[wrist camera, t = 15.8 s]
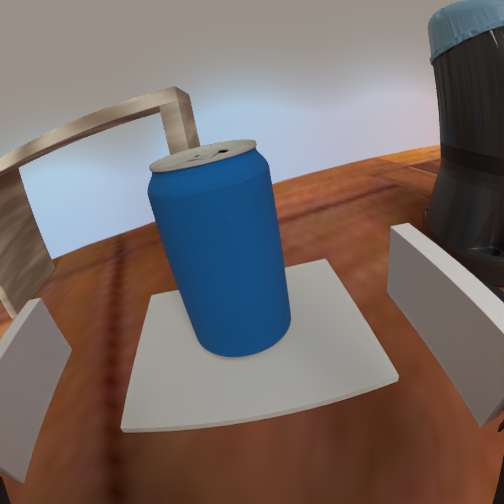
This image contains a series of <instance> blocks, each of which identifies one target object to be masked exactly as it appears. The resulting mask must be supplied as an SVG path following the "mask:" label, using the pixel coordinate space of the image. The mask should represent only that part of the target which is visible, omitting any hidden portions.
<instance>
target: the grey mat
mask: <svg viewBox="0 0 504 504" xmlns="http://www.w3.org/2000/svg"><path fill="white" fill-rule="evenodd" d="M285 274H286V281H287V289H288V296H289V304H290V311H291V323H290V327H289V329H288V331H287V333H286V334H285V336H284V337H283V338H282V339H281V340H280V341H279V342H278V343H276V344H275V345H274V346H272V347H271V348H269V349H267V350H265V351H263V352H261V353H258V354H255V355H251V356H247V357H239V358H230V357H223V356H218V355H215V354H213V353H211V352H209V351H207V350H206V349H205V348H204V347H202V346H201V344H200V343H199V341H198V339H197V337H196V334H195V332H194V329H193V327H192V324H191V322H190V319H189V316H188V314H187V311H186V308H185V306H184V303H183V300H182V298H181V295H180V292H179V290H175V291H170V292H165V293H160V294H154V295H152V296H151V299H150V303H149V306H148V310H147V314H146V317H145V321H144V325H143V329H142V332H141V336H140V340H139V344H138V348H137V352H136V356H135V361H134V365H133V369H132V373H131V378H130V382H129V387H128V392H127V396H126V401H125V406H124V411H123V417H122V422H121V427H120V429H121V430H122V431H123V432H124V433H131V432H162V431H178V430H190V429H200V428H209V427H217V426H225V425H232V424H239V423H245V422H251V421H256V420H262V419H267V418H272V417H277V416H282V415H287V414H291V413H295V412H300V411H304V410H308V409H312V408H316V407H319V406H323V405H327V404H330V403H334V402H337V401H341V400H344V399H347V398H351V397H354V396H357V395H360V394H363V393H366V392H369V391H372V390H375V389H378V388H381V387H383V386H386V385H389V384H392V383H394V382H397V381H398V378H399V375H398V373H397V372H396V370H395V368H394V366H393V365H392V363H391V361H390V360H389V358H388V356H387V355H386V353H385V351H384V350H383V348H382V346H381V345H380V343H379V341H378V340H377V338H376V336H375V335H374V333H373V331H372V330H371V328H370V327H369V325H368V323H367V322H366V320H365V319H364V317H363V315H362V314H361V312H360V311H359V309H358V307H357V306H356V304H355V303H354V301H353V300H352V298H351V296H350V295H349V293H348V292H347V290H346V289H345V287H344V286H343V284H342V283H341V281H340V280H339V278H338V277H337V275H336V273H335V272H334V270H333V269H332V267H331V266H330V264H329V263H328V261H327V260H326V259H322V260H317V261H313V262H308V263H304V264H299V265H295V266H290V267H286V268H285Z"/></svg>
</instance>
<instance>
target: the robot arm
mask: <svg viewBox="0 0 504 504" xmlns="http://www.w3.org/2000/svg"><path fill="white" fill-rule="evenodd" d="M428 35H429V42H430V49H431V58H430V62H431V65H433V68H434V74H435V81H436V89H437V98H438V109H439V123H440V146H441V162H440V168H439V171H438V175H437V178H436V181H435V185H434V188H433V192H432V195H431V199H430V202H429V205H428V206H427V207H426V209H425V211H424V214H423V219H422V233H421V232H420V231H418V230H417V229H416V228H414V227H413V226H412V225H410V224H409V223H405V224H400V225H395V226H391V227H390V250H389V268H388V282H387V293H388V294H389V296H390V297H391V298H392V299H393V301H394V302H395V303H396V305H397V306H398V307H399V309H400V310H401V311H402V312H403V314H404V315H405V316H406V318H407V319H408V320H409V322H410V323H411V325H412V326H413V327H414V329H415V330H416V331H417V333H418V334H419V335H420V337H421V338H422V340H423V341H424V342H425V344H426V345H427V347H428V348H429V349H430V351H431V352H432V354H433V355H434V357H435V358H436V360H437V361H438V362H439V364H440V365H441V367H442V368H443V370H444V371H445V373H446V374H447V376H448V377H449V379H450V380H451V382H452V383H453V385H454V386H455V388H456V389H457V391H458V393H459V394H460V396H461V397H462V399H463V400H464V402H465V404H466V405H467V407H468V409H469V410H470V412H471V413H472V415H473V417H474V418H475V420H476V422H477V423H478V425H479V427H480V428H481V427H483V426H484V425H486V424H487V423H489V422H490V421H492V420H493V419H495V418H496V417H498V416H499V415H500V414H501V413H502V411H503V410H504V292H503V291H502V290H501V289H499V288H497V287H495V286H504V0H465V1H460V2H456V3H453V4H450V5H448V6H446V7H444V8H442V9H440V10H438V11H437V12H436V13H434V14H433V16H432V17H431V18H430V20H429V23H428ZM493 285H495V286H493ZM71 351H72V348H71V347H70V345H69V344H68V342H67V341H66V339H65V338H64V336H63V334H62V333H61V331H60V330H59V328H58V326H57V325H56V323H55V321H54V320H53V318H52V316H51V314H50V313H49V311H48V309H47V307H46V306H45V304H44V302H43V300H42V298H37V299H32V300H29V301H28V302H27V303H26V305H25V306H24V307H23V309H22V310H21V311H20V313H19V314H18V315H17V317H16V318H15V320H14V321H13V323H12V324H11V325H10V327H9V328H8V330H7V331H6V333H5V334H4V336H3V337H2V339H1V340H0V471H1V472H2V473H3V474H5V475H6V476H8V477H9V478H10V479H13V480H16V481H18V482H21V483H24V482H25V478H26V474H27V470H28V467H29V463H30V460H31V457H32V453H33V450H34V447H35V444H36V441H37V438H38V435H39V432H40V429H41V426H42V423H43V420H44V417H45V415H46V412H47V409H48V406H49V404H50V401H51V399H52V396H53V394H54V391H55V389H56V386H57V384H58V381H59V379H60V377H61V374H62V372H63V369H64V367H65V365H66V363H67V360H68V358H69V356H70V354H71ZM503 428H504V420H503V421H502V423H501V424H500V425H499V428H498V431H497V432H501V431H502V429H503ZM0 504H10V501H9V498H8V495H7V491H6V488H5V484H4V481H3V479H2V477H0ZM493 504H504V457H503V462H502V467H501V472H500V476H499V481H498V485H497V489H496V493H495V497H494V500H493Z"/></svg>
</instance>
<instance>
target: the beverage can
mask: <svg viewBox="0 0 504 504" xmlns="http://www.w3.org/2000/svg"><path fill="white" fill-rule="evenodd" d="M255 147H256V141H254V140H234V141H227V142H220V143H215V144H210V145H205V146H201V147H196V148H193V149H189V150H185V151H182V152H179V153H176V154H173V155H170V156H167V157H165V158H162V159H160V160H158V161H156V162H154V163H152V164H151V165H150V166H149V168H150V171H152V177H151V180H150V183H149V186H148V197H149V200H150V204H151V207H152V210H153V214H154V217H155V220H156V223H157V227H158V230H159V233H160V236H161V239H162V242H163V245H164V249H165V252H166V255H167V258H168V261H169V264H170V266H171V269H172V272H173V275H174V278H175V281H176V284H177V286H178V289H179V292H180V295H181V298H182V300H183V303H184V306H185V308H186V311H187V314H188V316H189V319H190V322H191V324H192V327H193V329H194V332H195V334H196V337H197V339H198V341H199V343H200V344H201V346H202V347H204V348H205V349H206V350H207V351H209V352H211V353H213V354H215V355H218V356H223V357H230V358H239V357H247V356H251V355H255V354H258V353H261V352H263V351H265V350H267V349H269V348H271V347H272V346H274V345H275V344H276V343H278V342H279V341H280V340H281V339H282V338H283V337H284V336H285V334H286V333H287V331H288V329H289V327H290V323H291V311H290V304H289V296H288V289H287V281H286V274H285V267H284V260H283V253H282V246H281V240H280V233H279V226H278V220H277V213H276V207H275V201H274V194H273V188H272V182H271V176H270V171H269V165H268V163H267V161H266V159H265V158H264V157H263V156H262V155H261V154H260V153H259V152H258V151H257V150H256V148H255Z"/></svg>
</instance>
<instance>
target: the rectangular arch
mask: <svg viewBox="0 0 504 504" xmlns="http://www.w3.org/2000/svg"><path fill="white" fill-rule="evenodd" d="M159 112H161V117H162V121H163V126H164V130H165V134H166V138H167V143H168V147H169V151H170V155H173V154H176V153H179V152H182V151H185V150H189V149H193V148H196V147H200V143H199V138H198V134H197V129H196V124H195V120H194V116H193V111H192V106H191V101H190V96H189V94H187V93H186V92H184V91H182V90H180V89H179V88H177V87H175V86H174V87H170V88H166V89H163V90H159V91H156V92H152V93H149V94H146V95H142V96H139V97H136V98H133V99H130V100H127V101H124V102H121V103H118V104H115V105H113V106H110V107H107V108H105V109H102V110H99V111H97V112H94V113H92V114H89V115H87V116H84V117H82V118H79V119H77V120H75V121H72V122H71V123H68V124H65V125H63V126H61V127H59V128H57V129H55V130H52V131H50V132H48V133H46V134H44V135H42V136H40V137H38V138H36V139H34V140H32V141H31V142H28V143H27V144H25V145H23V146H21V147H19V148H17V149H16V150H14V151H12V152H10V153H8V154H7V155H5V156H3V157H2V158H0V299H1V301H2V303H3V305H4V306H5V308H6V310H7V311H8V313H9V315H10V317H11V318H12V319H15V318H16V317H17V315H18V314H19V313H20V311H21V310H22V309H23V307H24V306H25V305H26V303H27V302H28V301H29V300H32V299H33V298H34V296H35V295H36V294H37V292H38V291H39V290H40V288H41V287H42V286H43V284H44V283H45V282H46V281H47V279H48V278H49V277H50V275H51V274H52V273H53V272H54V270H55V269H56V268H55V266H54V264H53V261H52V259H51V257H50V255H49V253H48V250H47V248H46V245H45V243H44V241H43V238H42V236H41V233H40V231H39V228H38V226H37V223H36V221H35V218H34V215H33V212H32V209H31V207H30V204H29V201H28V198H27V195H26V192H25V189H24V185H23V182H22V179H21V176H20V172H19V169H18V168H19V167H21V166H23V165H25V164H27V163H29V162H31V161H33V160H35V159H37V158H39V157H41V156H43V155H45V154H48V153H50V152H52V151H54V150H56V149H59V148H61V147H63V146H66V145H68V144H70V143H73V142H75V141H78V140H80V139H82V138H85V137H88V136H90V135H93V134H95V133H98V132H101V131H104V130H106V129H109V128H111V127H115V126H118V125H120V124H124V123H126V122H129V121H133V120H136V119H139V118H142V117H146V116H149V115H152V114H156V113H159Z"/></svg>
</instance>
